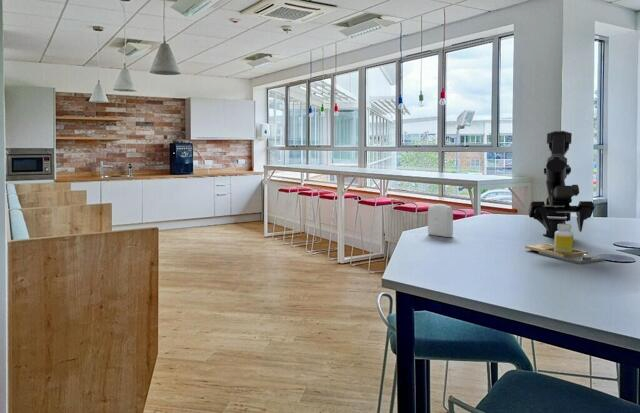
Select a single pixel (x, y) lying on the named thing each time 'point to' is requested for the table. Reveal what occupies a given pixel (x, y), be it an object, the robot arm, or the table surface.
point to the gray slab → (574, 257)
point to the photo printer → (440, 220)
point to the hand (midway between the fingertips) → (565, 230)
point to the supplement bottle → (563, 239)
